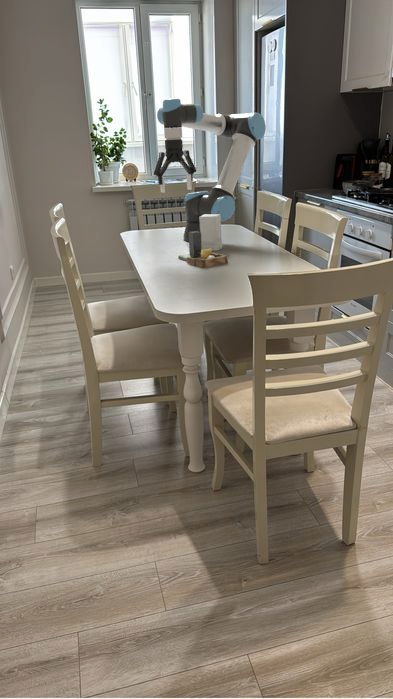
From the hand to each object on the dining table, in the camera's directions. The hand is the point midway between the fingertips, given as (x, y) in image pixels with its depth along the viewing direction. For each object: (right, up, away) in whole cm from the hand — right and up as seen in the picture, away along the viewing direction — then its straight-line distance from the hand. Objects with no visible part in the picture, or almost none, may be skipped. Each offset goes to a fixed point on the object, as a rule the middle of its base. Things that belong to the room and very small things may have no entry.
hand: (176, 191), depth 229 cm
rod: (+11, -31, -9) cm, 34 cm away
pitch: (+11, -32, -9) cm, 35 cm away
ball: (+15, -33, -16) cm, 40 cm away
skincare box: (+16, -24, +11) cm, 31 cm away
